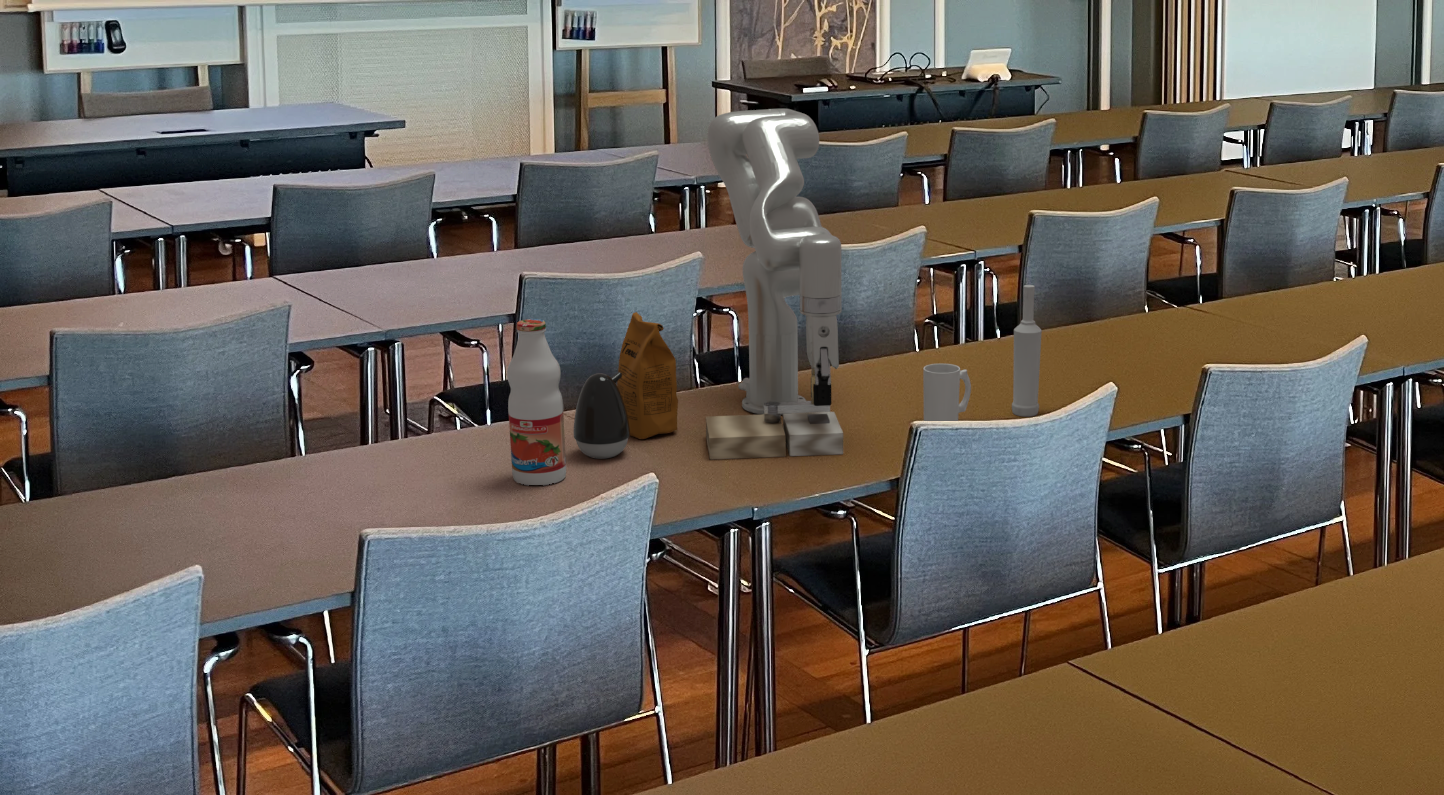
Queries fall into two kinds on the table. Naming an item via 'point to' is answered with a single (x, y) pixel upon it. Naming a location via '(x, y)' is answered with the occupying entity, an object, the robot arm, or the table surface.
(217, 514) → the table surface
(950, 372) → the mug
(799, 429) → the stone-look twin blocks
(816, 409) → the bar
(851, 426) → the table surface
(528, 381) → the fruit juice
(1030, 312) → the bottle
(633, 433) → the coffee package
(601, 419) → the pump dispenser
